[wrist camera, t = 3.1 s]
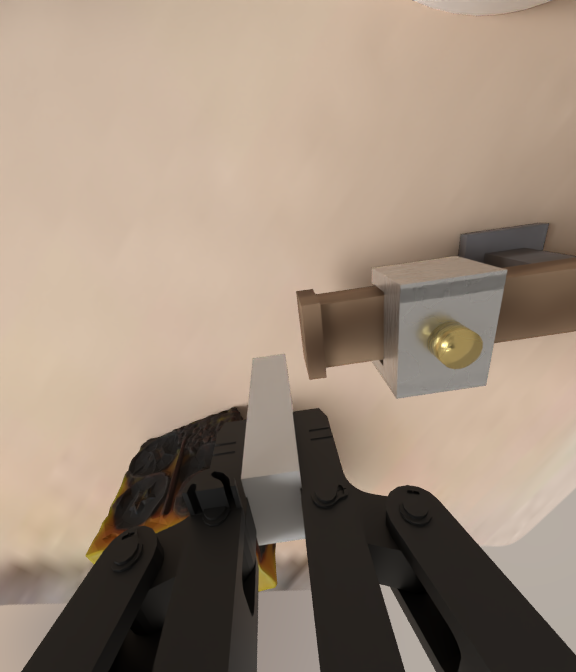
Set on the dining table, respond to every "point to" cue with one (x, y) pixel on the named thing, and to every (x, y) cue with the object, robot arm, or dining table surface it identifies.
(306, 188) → the dining table surface
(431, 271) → the rider
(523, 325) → the beam
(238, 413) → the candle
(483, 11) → the white hoop ring
